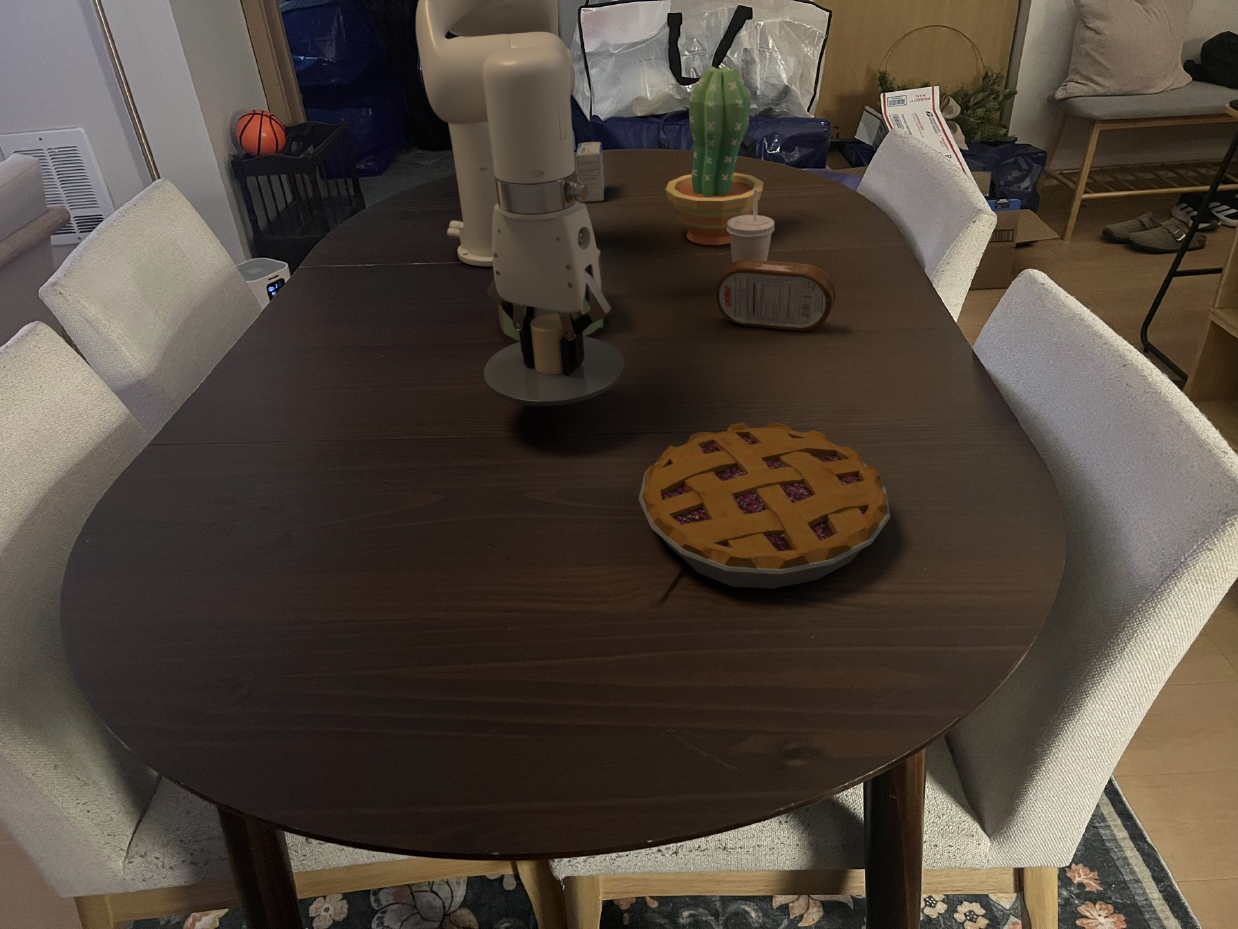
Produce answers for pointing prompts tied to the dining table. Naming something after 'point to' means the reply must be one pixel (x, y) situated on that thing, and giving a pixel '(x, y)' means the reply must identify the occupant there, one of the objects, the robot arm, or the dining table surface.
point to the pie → (764, 504)
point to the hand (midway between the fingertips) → (553, 363)
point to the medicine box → (591, 170)
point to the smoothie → (750, 235)
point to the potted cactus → (715, 159)
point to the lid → (552, 369)
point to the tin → (775, 294)
